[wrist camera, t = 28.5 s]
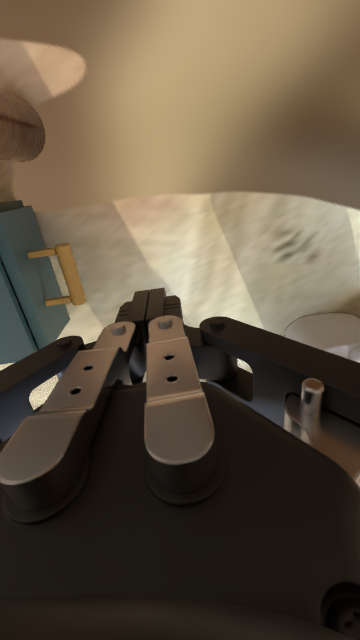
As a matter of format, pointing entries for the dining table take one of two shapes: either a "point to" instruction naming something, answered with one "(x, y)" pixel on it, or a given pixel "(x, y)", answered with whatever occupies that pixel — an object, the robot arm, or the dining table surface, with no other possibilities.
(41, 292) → the drawer
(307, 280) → the dining table surface
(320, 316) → the lumpy-topped squat cylinder
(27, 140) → the pepper mill
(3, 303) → the cabinet
